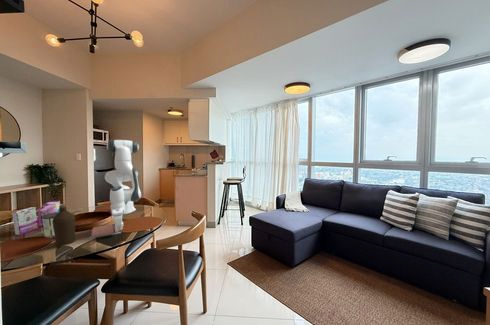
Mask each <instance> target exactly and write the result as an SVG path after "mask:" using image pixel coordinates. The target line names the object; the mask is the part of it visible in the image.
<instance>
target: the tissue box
mask: <svg viewBox="0 0 490 325" xmlns="http://www.w3.org/2000/svg"><path fill="white" fill-rule="evenodd" d="M58 213H59V212H55V213H50V214H46V215H44V216H42V219H43V226H42V227H43V233H44V234H43V235H44V237H45V236H54V237H55V234H54V228H53V223H52V221H53V218H54V217H55V216H56V215H57V214H58Z"/></svg>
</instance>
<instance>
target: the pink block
mask: <svg viewBox="0 0 490 325" xmlns="http://www.w3.org/2000/svg"><path fill="white" fill-rule="evenodd" d="M114 228H115V223H111V224H106V225H100V226H93V228H92V230H91V233H92V237H95V236H100V235H105V234H111V233H114Z"/></svg>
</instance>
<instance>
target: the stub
mask: <svg viewBox="0 0 490 325" xmlns="http://www.w3.org/2000/svg"><path fill="white" fill-rule="evenodd" d="M123 226H124V221H122V225H121V229H120V230H122V229H123ZM114 228H115V232H118V231H119V230H118V228H117V227H116V226H115V225H114Z"/></svg>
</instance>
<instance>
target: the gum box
mask: <svg viewBox="0 0 490 325" xmlns="http://www.w3.org/2000/svg"><path fill="white" fill-rule="evenodd" d="M60 205H61V201H60V200H52V201H47V202H46V203H44V204H43V205H42V206H40V207H39V208H37V219H38V226H40V227H43V226H42V225H43V219H42V216H44V215H46V214H50V213H55V212H59V206H60Z"/></svg>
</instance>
